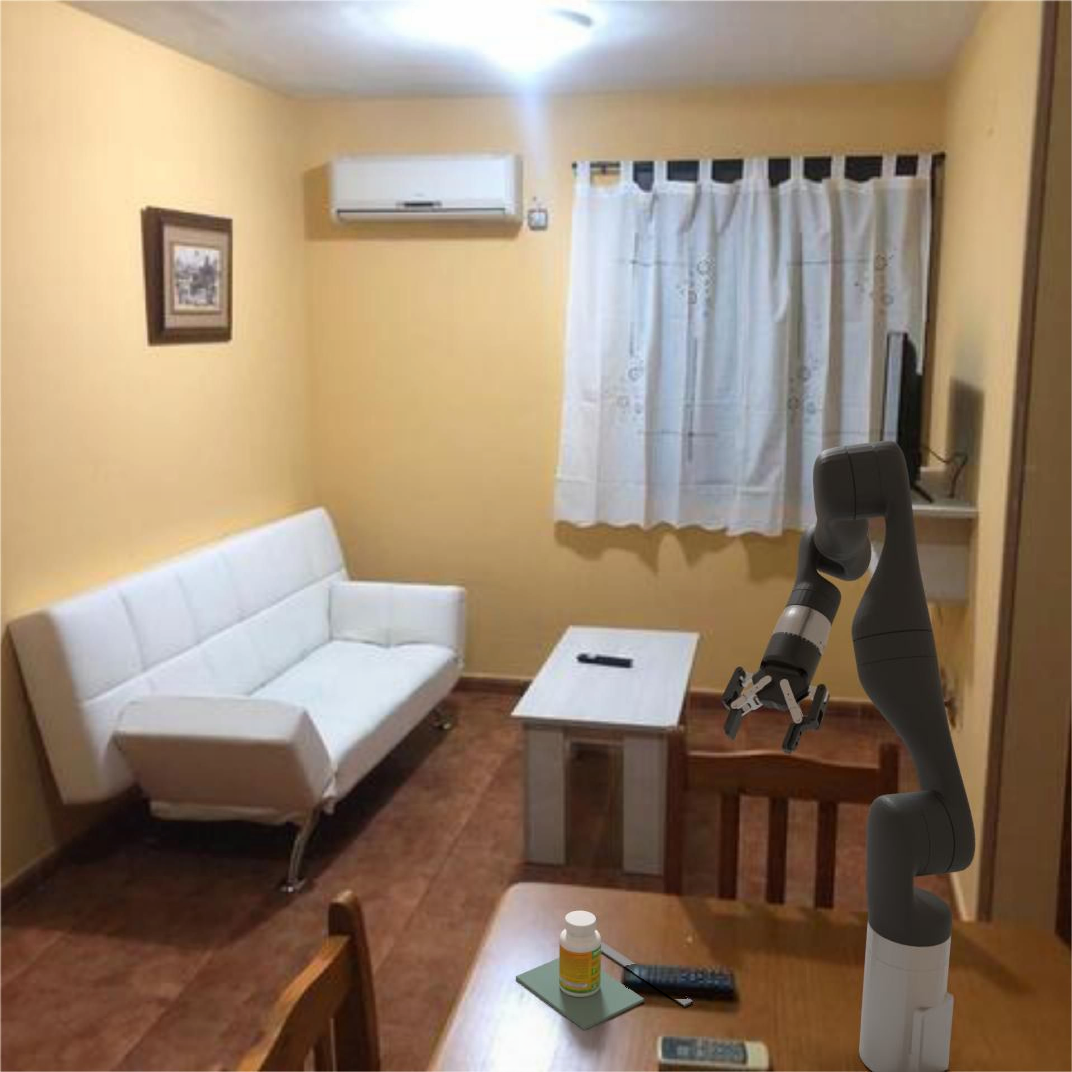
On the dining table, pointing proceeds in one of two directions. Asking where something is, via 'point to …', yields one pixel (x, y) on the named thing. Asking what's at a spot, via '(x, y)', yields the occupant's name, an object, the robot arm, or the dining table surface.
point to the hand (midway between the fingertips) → (757, 744)
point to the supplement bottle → (580, 955)
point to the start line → (624, 961)
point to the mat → (580, 1009)
